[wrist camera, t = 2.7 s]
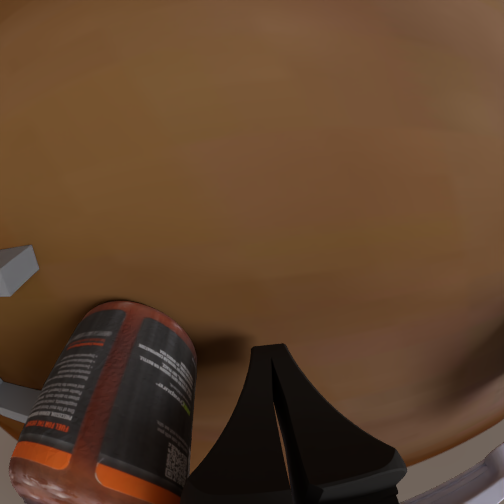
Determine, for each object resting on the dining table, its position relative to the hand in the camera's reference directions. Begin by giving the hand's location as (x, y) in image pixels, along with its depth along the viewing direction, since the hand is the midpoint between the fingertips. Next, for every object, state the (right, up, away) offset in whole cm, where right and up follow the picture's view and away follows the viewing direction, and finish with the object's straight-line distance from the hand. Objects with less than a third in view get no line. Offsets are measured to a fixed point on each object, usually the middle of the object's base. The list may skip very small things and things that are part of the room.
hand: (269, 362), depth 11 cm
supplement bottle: (-6, 0, +1) cm, 6 cm away
